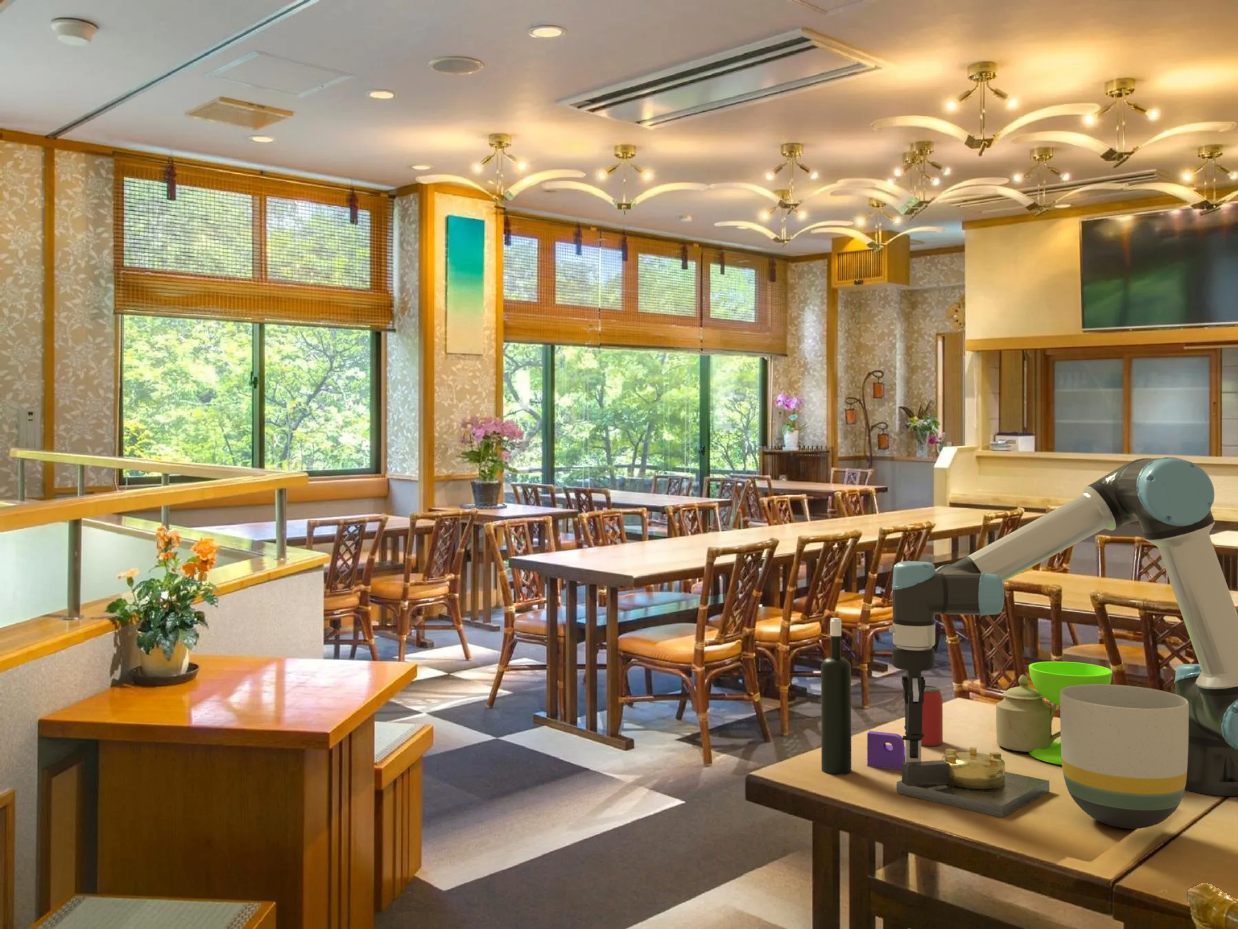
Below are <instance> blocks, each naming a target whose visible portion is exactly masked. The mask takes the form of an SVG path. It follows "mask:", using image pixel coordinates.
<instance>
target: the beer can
mask: <svg viewBox="0 0 1238 929" xmlns="http://www.w3.org/2000/svg"><path fill="white" fill-rule="evenodd" d="M943 699H944V698H943V695H942V693H941V688H940V687H938V686H935V685H926V684H925V690H924V703H923V710H922V733H923V734H924V737H922V740H921V747H937V746H940V745H942V744H943V741H944V740H943V739H944V738H943V733H944V732H943V730H944V729H943V728H944V727H943V726H944V725H943V724H944V723H943V720H944V719H943V714H944V713H943V712H944V711H943V704H944V703H943V701H944V700H943Z"/></svg>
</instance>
